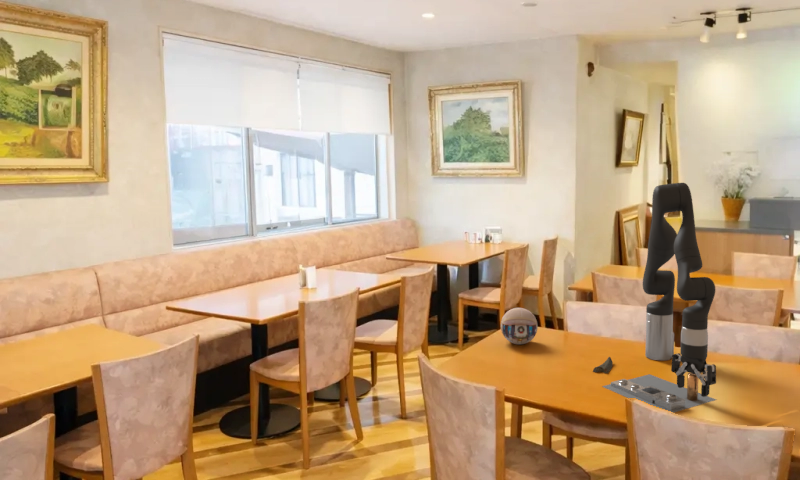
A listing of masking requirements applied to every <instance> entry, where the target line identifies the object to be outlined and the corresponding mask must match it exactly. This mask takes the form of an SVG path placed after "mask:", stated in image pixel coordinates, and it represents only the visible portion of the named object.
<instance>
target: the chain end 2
mask: <svg viewBox="0 0 800 480" xmlns="http://www.w3.org/2000/svg"><path fill="white" fill-rule="evenodd" d="M648 391H653V392H655V394H650V393H647V392H648ZM636 393H638V394H640V395H643V396H645V397H647V398H650V399H652V400H654V401H655V405H657V406H660V407H662V408H664V409H667V410H669V411H674V410H677V409H680V408H684V407H685V399H682V398H680V397H677V396H676V395H673V394H670V393H667V392H665V391H662V390H660V389H657V388H655V387H652V386H647V387H643V388H639V389H636Z"/></svg>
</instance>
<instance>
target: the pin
mask: <svg viewBox="0 0 800 480" xmlns="http://www.w3.org/2000/svg"><path fill="white" fill-rule="evenodd" d="M686 385H687V399H688V400H690V401H697V400H698V393H699V378H698V377H697V376H696V375H695V374H692V373H689V372H687V383H686Z"/></svg>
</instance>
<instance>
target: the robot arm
mask: <svg viewBox="0 0 800 480" xmlns="http://www.w3.org/2000/svg"><path fill="white" fill-rule="evenodd" d="M651 201H652V203H651V224H650V230H649V237H648V243H647V257H646V263H645V269H644V272H643V277H642V289H643V291H644V293H645V294H647V295H651V296H662V297H661V298H659V299H658V300H654V301H652V302H649V303H647V305H646V311H645V312H646V313H645V315H646V316H645V317H646V321H645V357H646V358H647V359H650V360H654V361H670V360H671V369H670V371H671V372H672V373H675V376H676V384H677V385H678V387H679V388H682V387H685V382H686V381H685V374H686V373H692V374H695V375H696V376H697V377H698V380H700V382H701V390H700V391H701V393H700V394H701V396H703V397H705V396H708V397H709V395H710V390H711V389H710V388H711V387H710V386H712V385H715V384H717V366H716V364H714V363H713V364H708V362H707V358H708V349H709V347H708V346H709V332H708V331H709V330H708V326H709V325H708V323H709V317H708V316H709V312H710V310H711V307H712V304H713V301H714V298H715V295H716V284H715V283H714V280H712V279H711V278H710V277H708V276H701V277H700V276H698V277H697V276H696V277H691V276H690V274H691V273H695V272H698V271H700V270H702V268H703V260H702V257H701V253H700V250H699V245H698V241H697V240H698V239H697V234H696V232H697V231H696V224H695V212H694V206H693V197H692V192H691V189H690V187H689V186H688V184H687V183H685V182H675V183H674V182H673V183H666V184H660V185H657V186H655V187H654V189H653V192H652V200H651ZM676 212H681V215H682V221H681V224H680V227H679V229H678V231H677V232H676V230H675V228H674V227H673V226H672V225H671V223H669V222H668V220H667V219H666V218H665V214H667V213H676ZM673 257H675V260H676V261H675V262H676V266H677V280H676V278H675V274H674V271H672V270H667V269H666V270H663V269H662V270H661V269H660V268H661V267H662V266H664V265H665V264H667V263H668V262H669V261H670V260H672V258H673ZM676 281H677V282H676ZM675 285H676V286H675ZM675 287H676V292H677V295H678V297H679V298H680V299H681V300H683V301H687V302H692V301H694V302H695V301H696V302H695V304H694V305H690V306H687V307H685V308H684V309H682V314H681V315H682V317H681V318H682V319H681V320H682V321H681V331H680V351H679V353H675V352H674V351H675V332H674V330H673V327H674V298H675ZM681 364H682V365H681Z"/></svg>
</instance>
